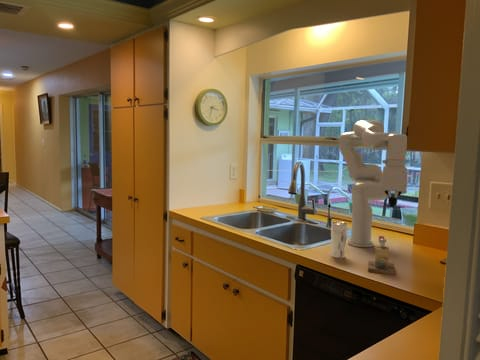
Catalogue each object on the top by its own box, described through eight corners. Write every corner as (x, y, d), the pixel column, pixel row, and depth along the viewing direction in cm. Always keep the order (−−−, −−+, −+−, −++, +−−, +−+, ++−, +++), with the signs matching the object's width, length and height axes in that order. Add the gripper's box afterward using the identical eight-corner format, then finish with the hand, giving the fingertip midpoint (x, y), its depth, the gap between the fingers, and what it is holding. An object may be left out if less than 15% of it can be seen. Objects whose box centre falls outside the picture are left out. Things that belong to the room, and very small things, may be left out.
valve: (368, 264, 164) (369, 243, 163) (393, 267, 160) (395, 245, 160) (367, 271, 154) (369, 249, 153) (395, 275, 151) (396, 252, 150)
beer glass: (334, 252, 179) (335, 220, 178) (348, 255, 175) (350, 223, 173) (327, 256, 174) (328, 223, 172) (341, 259, 170) (343, 225, 168)
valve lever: (386, 248, 155) (386, 240, 154) (379, 248, 155) (379, 240, 155) (384, 242, 164) (384, 234, 164) (377, 241, 165) (378, 234, 164)
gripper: (376, 163, 162) (373, 206, 165) (415, 165, 157) (411, 209, 160) (376, 161, 169) (373, 203, 172) (413, 163, 164) (409, 206, 167)
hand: (391, 206), depth 166 cm, fingers closed
